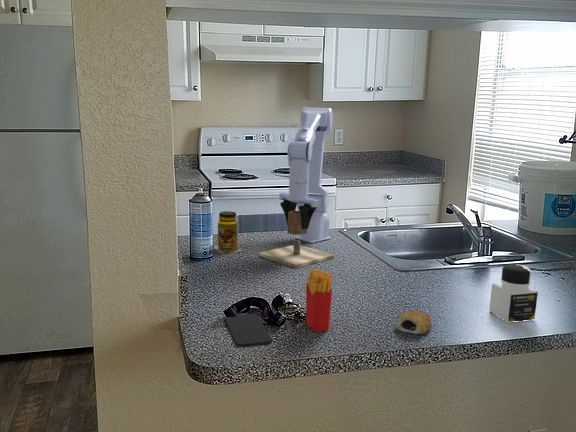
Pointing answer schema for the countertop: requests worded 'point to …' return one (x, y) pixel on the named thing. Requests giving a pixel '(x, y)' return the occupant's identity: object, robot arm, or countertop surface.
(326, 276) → the french fries
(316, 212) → the robot arm
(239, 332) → the phone
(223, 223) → the condiment
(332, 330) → the countertop surface
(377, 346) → the countertop surface
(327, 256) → the post board
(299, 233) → the collar
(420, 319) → the pastry
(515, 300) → the medicine bottle
